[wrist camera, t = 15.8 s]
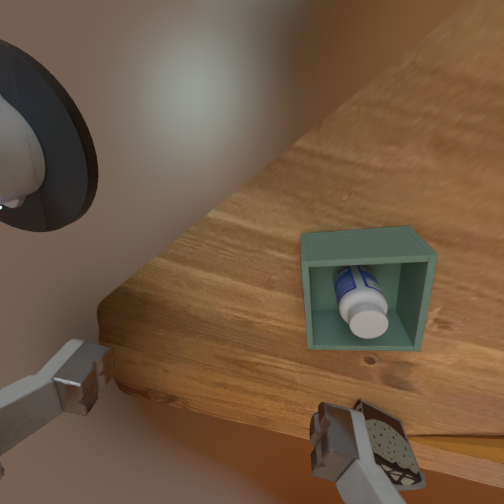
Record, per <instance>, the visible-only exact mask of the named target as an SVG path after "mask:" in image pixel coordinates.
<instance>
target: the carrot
mask: <svg viewBox="0 0 504 504" xmlns="http://www.w3.org/2000/svg"><path fill="white" fill-rule="evenodd" d="M407 438H408V440H412V441H415V442H419V443H422V444H426V445H429V446H433V447H436V448H440V449H445V450H449V451H453V452H457V453H461V454H465V455H469V456H474V457H478V458H482V459H486V460H490V461H494V462H498V463H503V464H504V436H411V437H407Z"/></svg>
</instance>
